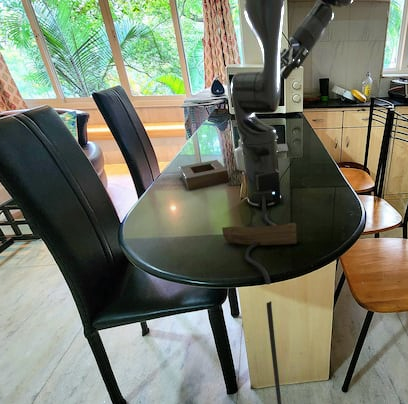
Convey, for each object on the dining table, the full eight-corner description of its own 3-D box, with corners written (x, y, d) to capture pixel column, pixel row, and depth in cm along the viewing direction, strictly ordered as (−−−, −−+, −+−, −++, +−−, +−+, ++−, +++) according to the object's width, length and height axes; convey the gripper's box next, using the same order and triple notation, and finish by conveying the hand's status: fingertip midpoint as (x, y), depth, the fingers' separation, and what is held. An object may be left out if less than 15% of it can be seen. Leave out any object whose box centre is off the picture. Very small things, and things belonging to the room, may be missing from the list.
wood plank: (296, 239, 63) (295, 220, 60) (296, 245, 61) (295, 225, 58) (227, 242, 63) (223, 223, 60) (225, 248, 61) (221, 228, 58)
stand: (229, 181, 94) (227, 170, 93) (188, 190, 89) (186, 178, 87) (218, 170, 105) (217, 159, 103) (182, 177, 99) (179, 166, 97)
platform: (288, 150, 123) (287, 135, 120) (247, 153, 122) (245, 138, 119) (286, 143, 134) (286, 129, 131) (248, 146, 132) (246, 132, 129)
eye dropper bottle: (238, 167, 107) (234, 135, 101) (253, 166, 107) (249, 134, 101) (236, 171, 103) (232, 138, 97) (252, 170, 103) (248, 137, 97)
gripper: (289, 28, 94) (260, 68, 95) (311, 23, 83) (278, 68, 83) (303, 46, 99) (275, 84, 99) (326, 43, 87) (295, 86, 88)
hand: (277, 76), depth 91 cm, fingers open, 8 cm apart
